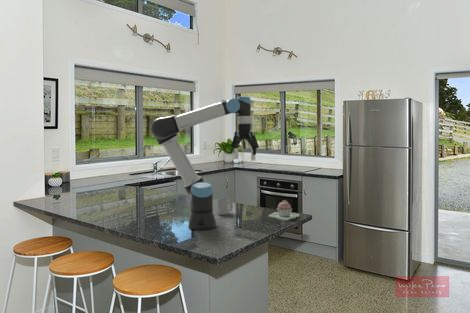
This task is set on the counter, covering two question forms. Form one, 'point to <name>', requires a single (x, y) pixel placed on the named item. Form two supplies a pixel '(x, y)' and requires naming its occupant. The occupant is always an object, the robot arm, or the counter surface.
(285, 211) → the cupcake
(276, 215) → the pale green scalloped tray
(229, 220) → the counter surface
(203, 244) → the counter surface
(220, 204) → the cup
